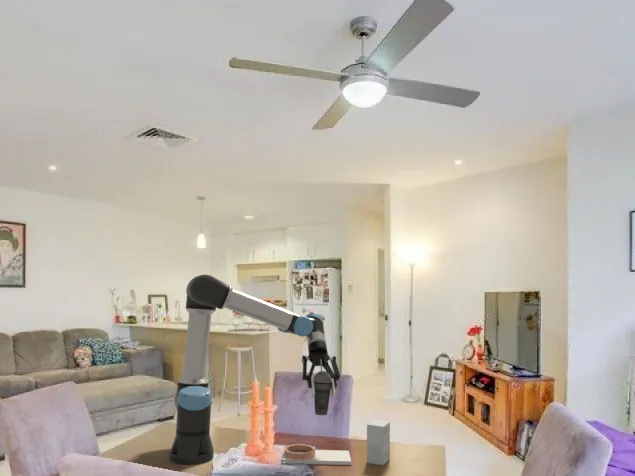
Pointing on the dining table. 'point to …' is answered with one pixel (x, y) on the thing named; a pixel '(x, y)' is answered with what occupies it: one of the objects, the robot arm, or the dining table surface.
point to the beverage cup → (322, 391)
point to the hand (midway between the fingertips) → (323, 395)
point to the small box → (378, 442)
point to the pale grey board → (324, 458)
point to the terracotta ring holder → (299, 452)
